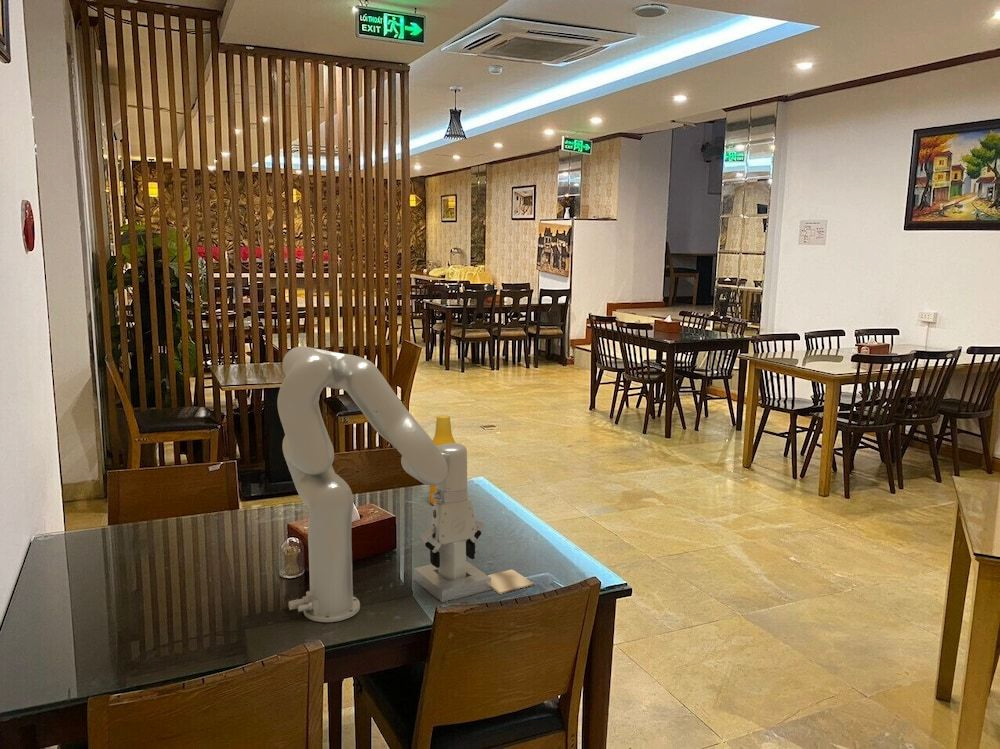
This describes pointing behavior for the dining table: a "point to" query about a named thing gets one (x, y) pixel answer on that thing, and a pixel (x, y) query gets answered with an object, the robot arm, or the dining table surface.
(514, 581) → the wooden coaster
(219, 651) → the dining table surface
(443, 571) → the skincare box
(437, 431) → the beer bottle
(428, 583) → the white rectangular frame
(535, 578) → the dining table surface
